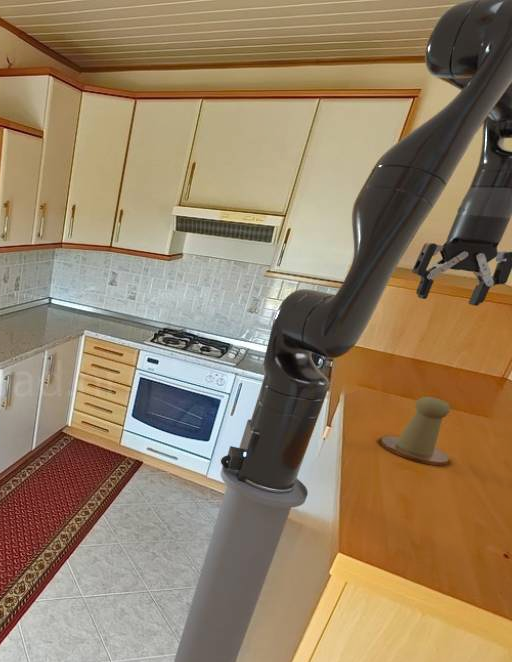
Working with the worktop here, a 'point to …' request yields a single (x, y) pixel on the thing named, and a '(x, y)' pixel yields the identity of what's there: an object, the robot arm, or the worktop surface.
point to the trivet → (434, 459)
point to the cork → (424, 426)
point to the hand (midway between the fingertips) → (447, 301)
